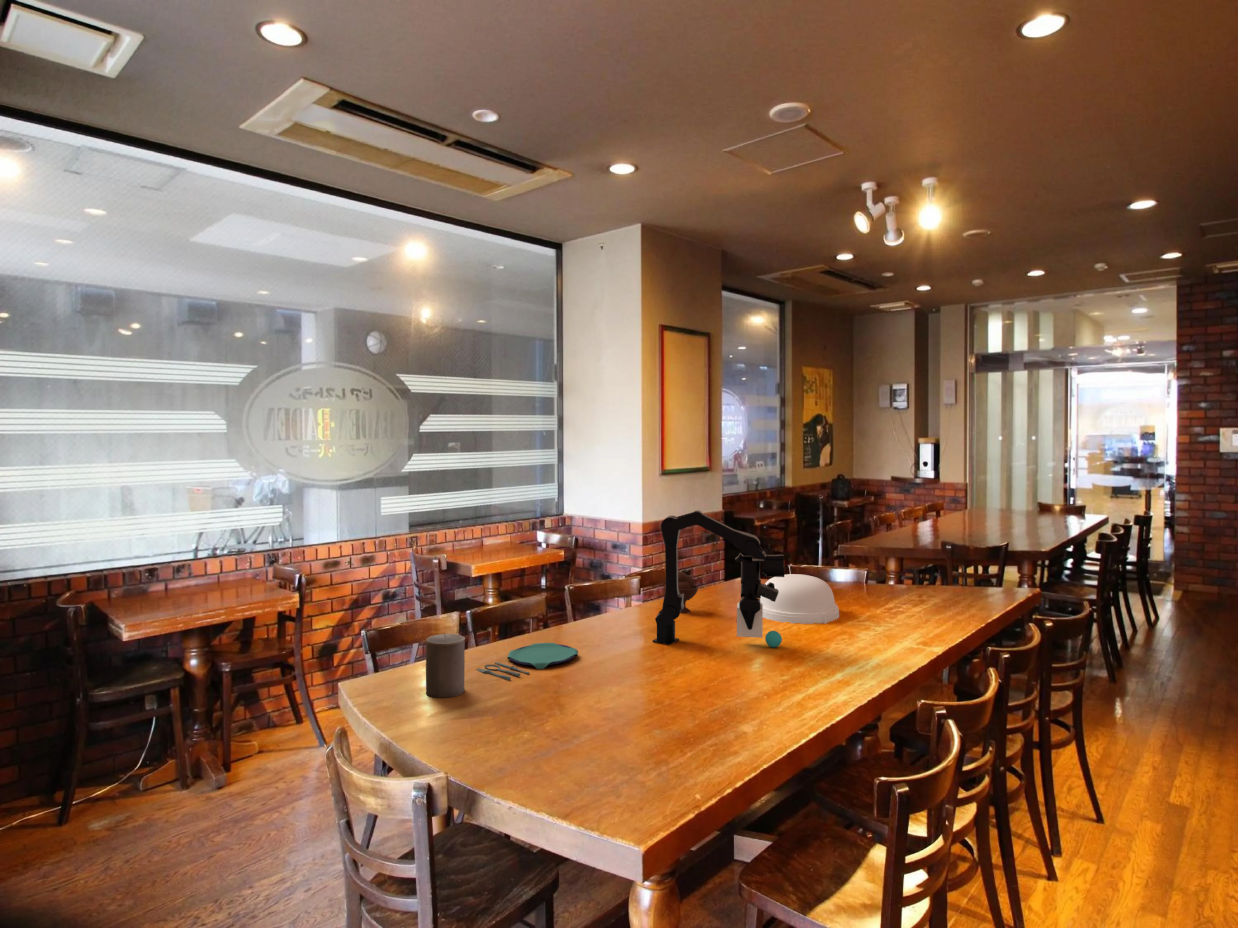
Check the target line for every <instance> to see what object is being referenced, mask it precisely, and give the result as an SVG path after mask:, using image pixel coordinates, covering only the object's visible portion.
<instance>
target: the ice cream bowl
mask: <svg viewBox="0 0 1238 928" xmlns="http://www.w3.org/2000/svg"><path fill="white" fill-rule="evenodd" d="M678 589H679V593H680V594H684V598H683V603H684V608H683V610H682V611H681V613H680V614H690V613H691V609H689V608H688V607H687V606H686V603H687V602H688V601H690V600H691V599H693V598H694V596H695V595H696V594H697V592H698V591H699V586H698V585H696V584H695V580H694V579H693V578H692V577H691V576H690V575H688V574H686V572H684V571H678Z"/></svg>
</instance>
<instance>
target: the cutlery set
mask: <svg viewBox="0 0 1238 928" xmlns="http://www.w3.org/2000/svg"><path fill="white" fill-rule="evenodd" d="M578 656H579V651H578V649H577V648H574V647H572V646H570V645H565V644H559V643H555V642H539V643H538V642H537V643H532V644H530V645H525V646H521V647H518V648H516V649H513V650H510V651H509V652H508V656H507V659H508V660H510V661H511V662H514V663H516V664H518V665H524V666H533V667H535V668H536V669H537V670H544V669H545V668H547V666H551V665H557V664H562V663H565V662H567V661H570V660H572V659H574V658H575V657H578ZM489 667H492V668H489ZM493 667H494V668H493ZM501 667H503V668H507V669H510V670H507V669H501ZM484 668H485V669H482V668H481V667H480V668H479V667H478V668H476V669H474V670H475V671H477V672H480V673H482V674H488V675H492V676H493V677H496V678H500V679H503V680H506V681H511V676H507V675H504V674H498V673H495V672H494V671H498V672H502V673H507V674H510V675H514V676H515V677H520V676H521V673H520V672H522V673H524V674H526V675H527V676H529V675H530V671H525V670H522V669H519V668H518V667H517V666H514V665H508V664H505V663H501V662H494V664H485V665H484ZM495 668H496V669H495ZM515 671H516V672H515ZM517 671H519V672H517Z"/></svg>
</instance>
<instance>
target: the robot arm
mask: <svg viewBox="0 0 1238 928" xmlns="http://www.w3.org/2000/svg"><path fill="white" fill-rule="evenodd" d="M661 521H662V522H661V524H660V531H661V536H662V539H663V543H664V549H665V551H664V554H665V555H664V557H665V559H664V560H665V561H664V562H665V565H664V567H665V592H664V595H663V597H664V598H663V602H662V608H661V609H660V610H659V611H658V613H657V615H656V617H655V618H654V620H655V624H656V638H655V639H653V640H652V643H656V644H657V643H658V644H661V645H669V646H670V645H673V644H675V643H677V642H679V641H680V638H677V637H676V619H678V618H679V617H680V614H682V613H681V611H682V610H683V608H684V603H683V598H684V594H680V593H679V589H678V572H679V563H678V562H679V560H678V559H679V553H678V551H679V549H678V545H679V540H680V535H681V531H682V530H683V529H686V528H689V527H691V526H695V525H697V526H698V527H701V528H703V529H705V530H706V531H708V532H711V533H712V534H714V535H716V536H718V537H720V538H722V539H724V540H726V541H728V542H730V543H731V544H732V545H733V546H734V547H736V548H737V549H738V550H739V551H741V552H742V553H741V552H739V554H738V556H736V557H735V558H734V559H735V560H734V561H735V562H738V563H740V564H741V565H740V598H741V599H739V609H740V610H741V613H742V615H743V618H744V620H745V623H746V625H747V628H748V629H749V630H752V626H753V621H754V617H755V614H756V613H757V612H758V611H760V598H761V596H762V597H765V598H767V599H770V600H771V601H773V602H775V601H776V598H777V596H778V593H779V591H778V590H777V589H775V587H774V584H773V583H771V582H769V583H768V584H767V585H766V584H765V583H764V584H765V585H764V584H763V583H762V580H761V573H762V574H764V575H765V577H766V578H768V577H769V578H773V577H784V575H785V561H784V560H785V559H784V557H785V556H784V554H766V552H765V550H763V548H762V546H761V541H760V539H759V537H758V536H757V535H754V534H752V533H748V532H746V531H741V530H737V529H734V528H732V527H730V526H728V525H726V524H724V523H722V522H720V521H719V520H716V519H715V518H713V517H711V516H709V515H707V514H704V513H703V512H702V511H701V510H694V511H693V512H688V513H686V514H685V513H684V514H681V515H679V516H677V515H676V516H675V515H669V516H666V517H665V518H664V519H663V520H661ZM743 554H744V555H743ZM753 556H754V557H755V558H753ZM761 563H762V565H761ZM761 567H762V568H761ZM761 569H762V570H761Z"/></svg>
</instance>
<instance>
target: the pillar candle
mask: <svg viewBox="0 0 1238 928" xmlns="http://www.w3.org/2000/svg"><path fill="white" fill-rule="evenodd" d="M465 639H466V637H464V636H463V635H460V634H453V633H443V634H442V633H441V634H436V635H431V636H428V637H427V638H426V640H425V694H426V696H429V697H431V698H434V699H447V698H448V699H449V698H455V697H457V696H460V695H461V694H463V693H465V675H466V673H465V663H466V662H465V657H466V656H465V653H466V652H465V642H466V641H465Z"/></svg>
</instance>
